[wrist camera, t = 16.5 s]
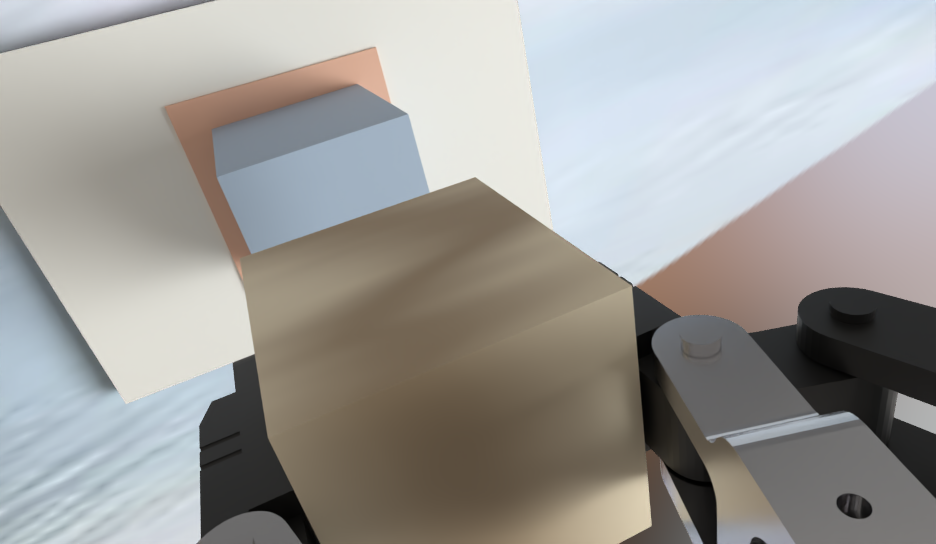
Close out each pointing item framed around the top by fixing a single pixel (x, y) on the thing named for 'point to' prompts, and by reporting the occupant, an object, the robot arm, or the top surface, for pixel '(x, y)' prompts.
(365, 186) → the slate block
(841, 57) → the top surface
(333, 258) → the maple block
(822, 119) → the top surface
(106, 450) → the top surface
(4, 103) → the board
